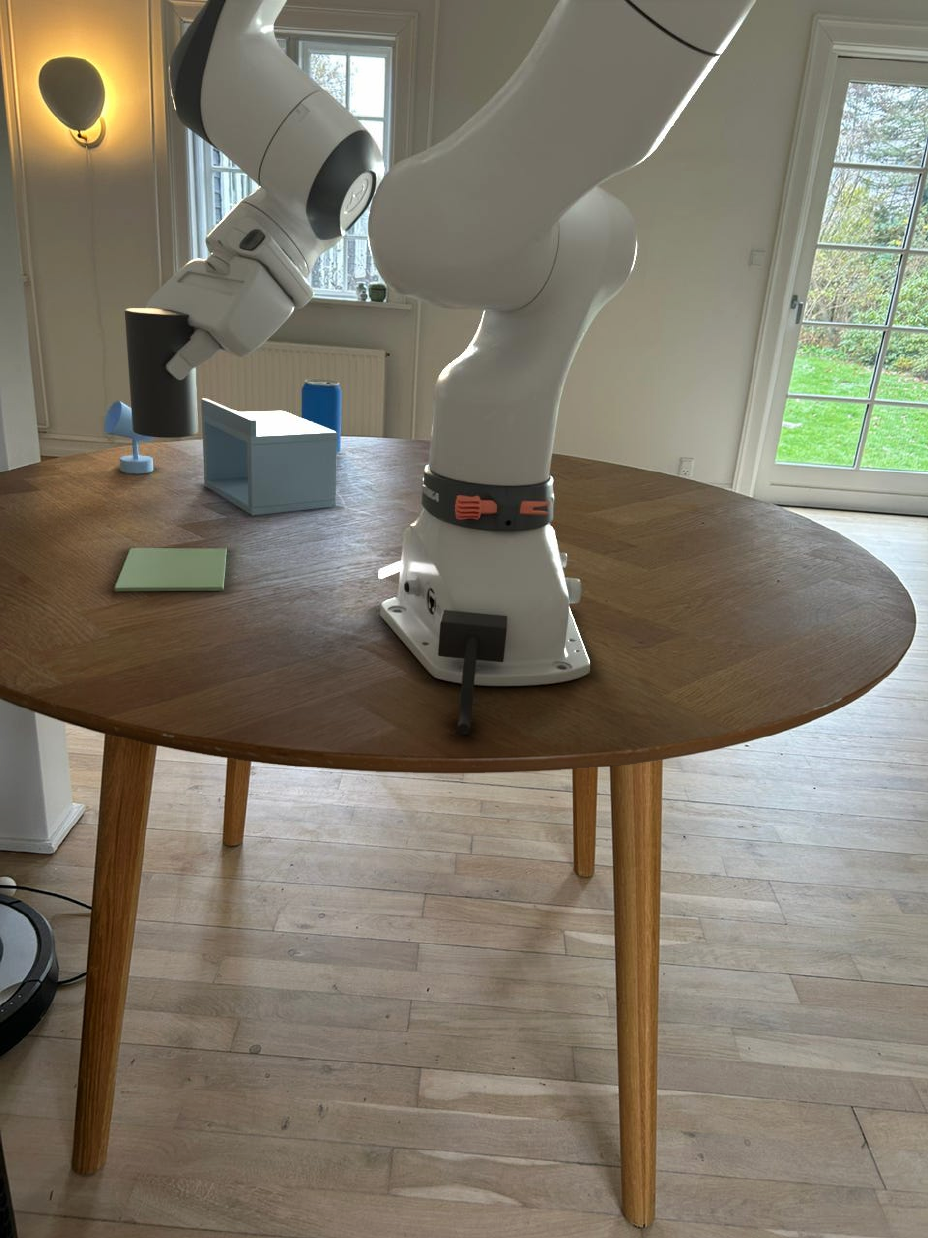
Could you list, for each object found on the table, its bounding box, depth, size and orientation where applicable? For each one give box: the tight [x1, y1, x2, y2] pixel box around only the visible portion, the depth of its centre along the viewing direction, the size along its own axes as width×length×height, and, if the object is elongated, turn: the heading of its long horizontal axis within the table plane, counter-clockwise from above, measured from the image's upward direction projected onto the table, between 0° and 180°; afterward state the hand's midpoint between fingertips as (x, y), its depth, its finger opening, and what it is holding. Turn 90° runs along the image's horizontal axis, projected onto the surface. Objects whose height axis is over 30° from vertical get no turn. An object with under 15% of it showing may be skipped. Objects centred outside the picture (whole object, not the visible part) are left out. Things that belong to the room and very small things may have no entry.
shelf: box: [200, 397, 338, 517], centre depth 115 cm, size 16×12×12 cm
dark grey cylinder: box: [124, 307, 199, 439], centre depth 80 cm, size 6×6×11 cm
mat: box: [114, 547, 227, 592], centre depth 88 cm, size 12×10×1 cm
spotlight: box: [103, 400, 154, 474], centre depth 122 cm, size 5×10×7 cm
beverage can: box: [300, 378, 343, 454], centre depth 141 cm, size 6×6×12 cm
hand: (156, 368), depth 80 cm, fingers closed on dark grey cylinder, 6 cm apart
